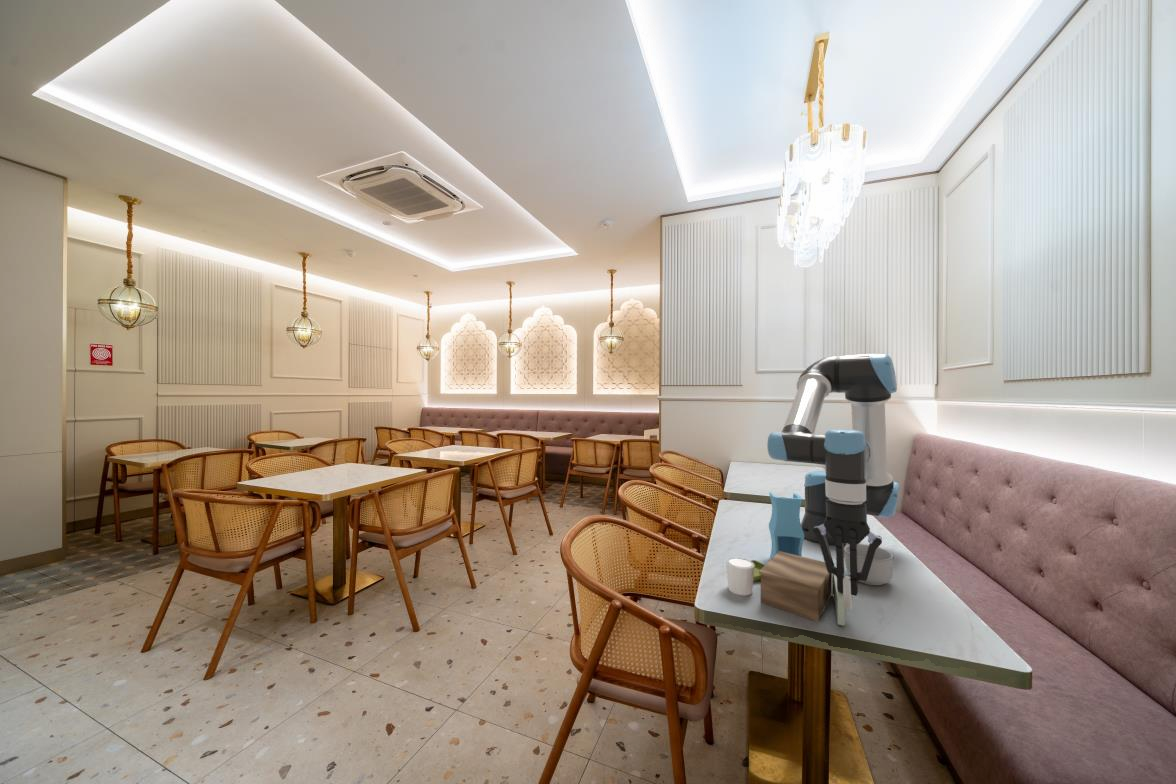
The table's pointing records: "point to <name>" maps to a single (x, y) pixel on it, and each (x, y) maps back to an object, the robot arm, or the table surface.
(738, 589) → the white short cylinder
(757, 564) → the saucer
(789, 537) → the blue tall holder
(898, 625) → the table surface
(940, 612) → the table surface
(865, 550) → the grey oval bowl
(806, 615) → the wood grain block
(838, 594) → the door
